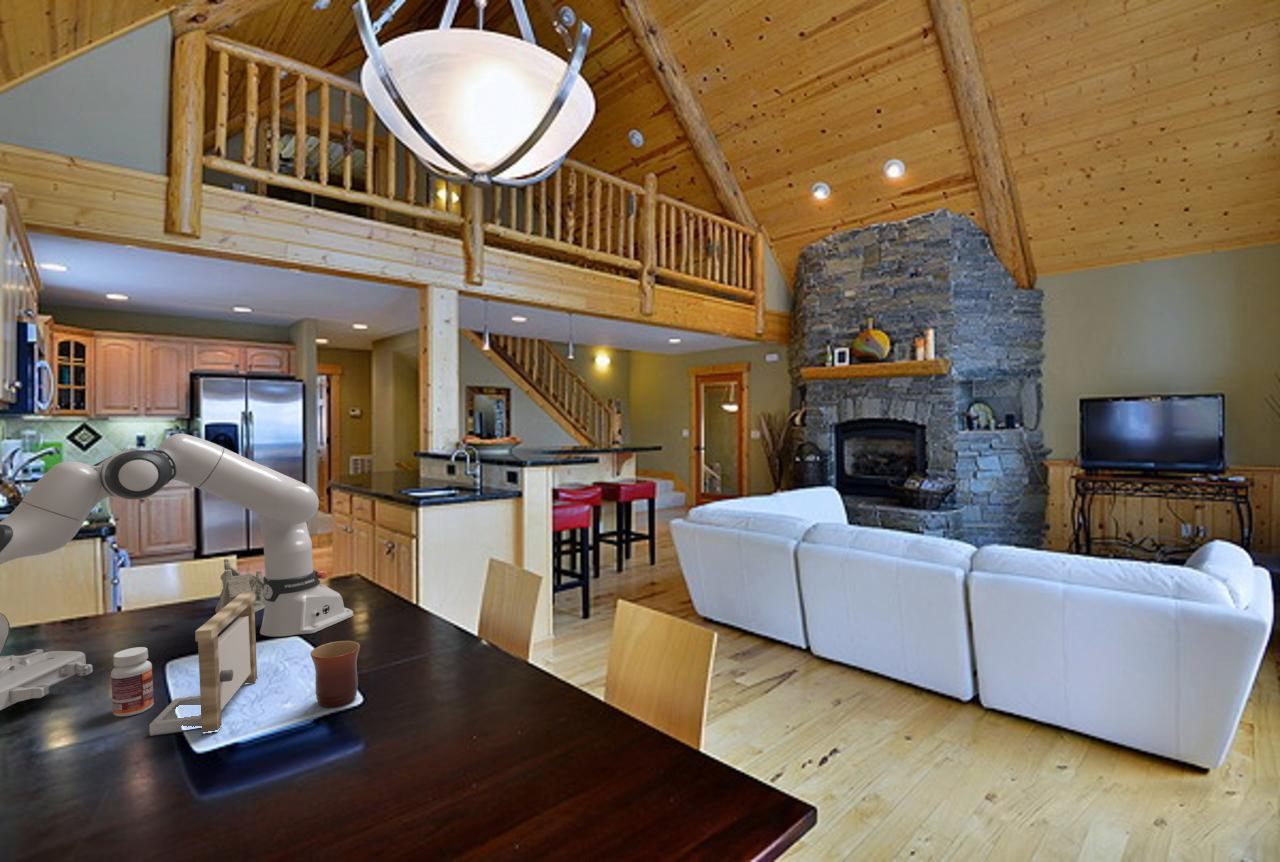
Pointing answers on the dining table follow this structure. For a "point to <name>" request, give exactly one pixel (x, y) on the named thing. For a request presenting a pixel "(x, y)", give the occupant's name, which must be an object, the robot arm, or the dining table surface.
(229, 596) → the ceramic cottage
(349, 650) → the mug
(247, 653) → the door
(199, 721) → the keeper
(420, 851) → the dining table surface
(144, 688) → the pill bottle
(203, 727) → the door frame
